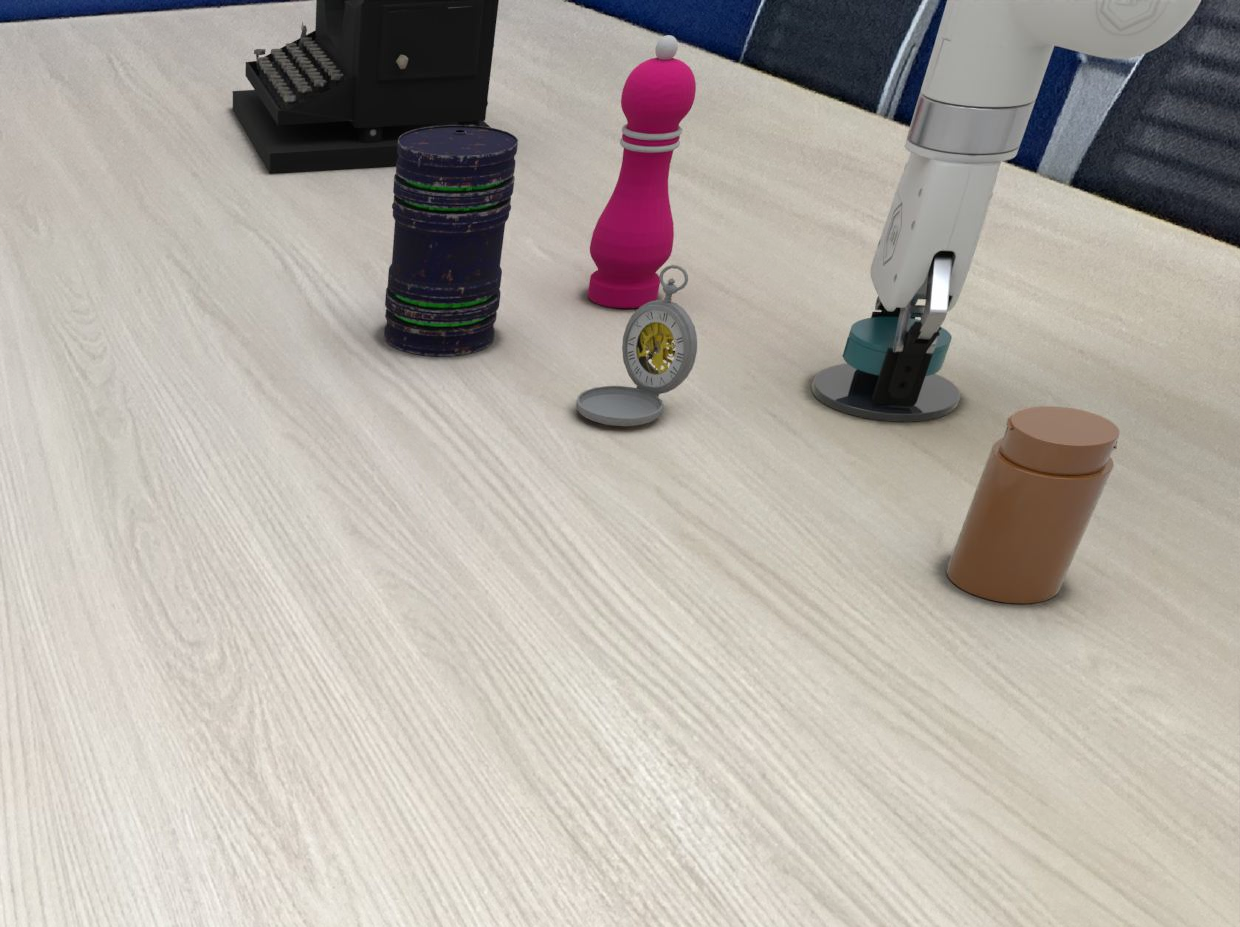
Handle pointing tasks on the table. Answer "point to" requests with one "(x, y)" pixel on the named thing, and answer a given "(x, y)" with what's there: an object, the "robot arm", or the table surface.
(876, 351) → the jam lid
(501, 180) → the dark blue cylinder
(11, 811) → the table surface
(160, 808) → the table surface
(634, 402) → the pocket watch
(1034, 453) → the jam jar
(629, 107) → the pepper mill
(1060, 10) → the robot arm
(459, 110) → the typewriter
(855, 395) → the coaster
